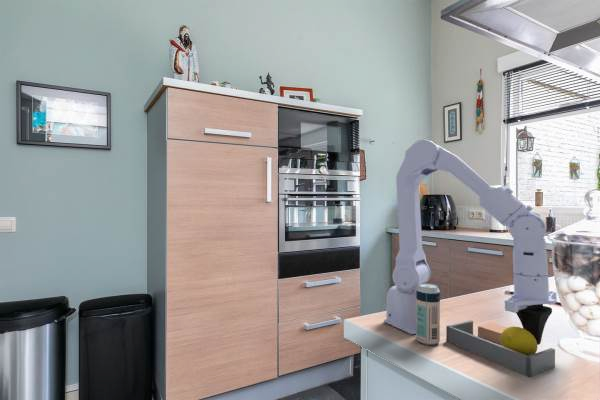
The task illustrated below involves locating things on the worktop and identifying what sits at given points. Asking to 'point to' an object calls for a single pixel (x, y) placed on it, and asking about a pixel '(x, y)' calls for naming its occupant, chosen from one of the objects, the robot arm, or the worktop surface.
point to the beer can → (428, 314)
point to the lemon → (519, 340)
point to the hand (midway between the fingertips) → (533, 342)
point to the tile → (491, 331)
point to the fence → (499, 351)
